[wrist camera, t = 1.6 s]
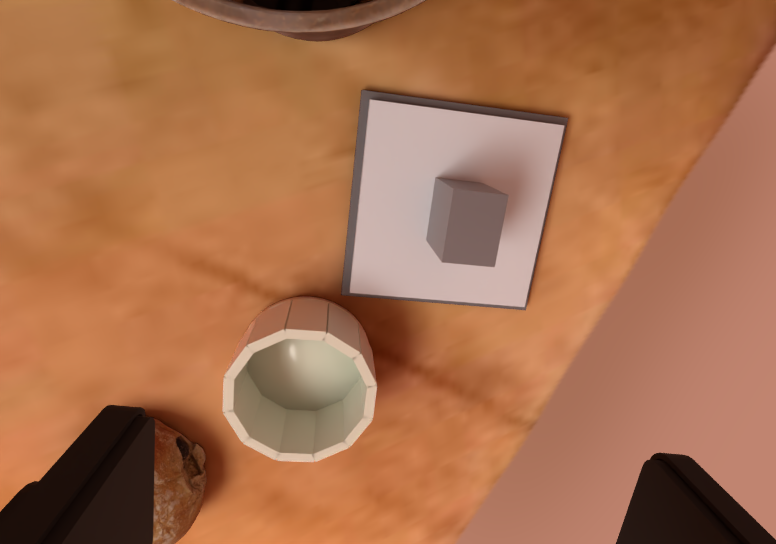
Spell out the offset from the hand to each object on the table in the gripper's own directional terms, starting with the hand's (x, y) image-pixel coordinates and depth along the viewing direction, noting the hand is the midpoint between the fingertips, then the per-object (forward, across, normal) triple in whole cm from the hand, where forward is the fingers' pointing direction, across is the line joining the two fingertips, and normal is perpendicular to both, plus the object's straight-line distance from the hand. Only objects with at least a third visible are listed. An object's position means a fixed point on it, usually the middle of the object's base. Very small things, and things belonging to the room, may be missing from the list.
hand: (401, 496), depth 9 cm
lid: (+23, -5, -2) cm, 24 cm away
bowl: (+24, +3, +9) cm, 26 cm away
